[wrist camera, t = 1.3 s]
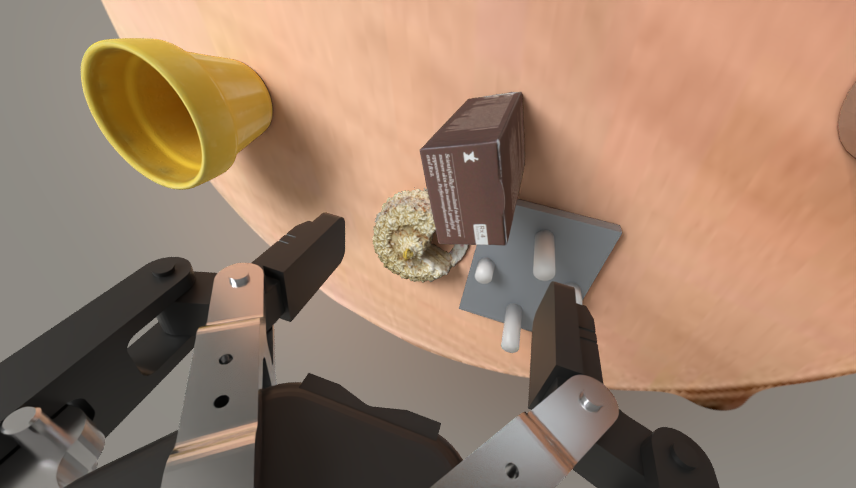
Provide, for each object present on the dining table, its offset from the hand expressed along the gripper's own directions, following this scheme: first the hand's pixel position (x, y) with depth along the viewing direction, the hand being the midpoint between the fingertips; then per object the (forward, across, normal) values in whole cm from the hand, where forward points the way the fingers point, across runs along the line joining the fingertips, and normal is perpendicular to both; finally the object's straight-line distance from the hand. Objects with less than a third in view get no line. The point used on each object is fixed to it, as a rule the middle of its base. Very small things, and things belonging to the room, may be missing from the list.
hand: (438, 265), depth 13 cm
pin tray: (+18, -6, +12) cm, 23 cm away
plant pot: (+18, +24, +2) cm, 30 cm away
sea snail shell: (+18, +5, +11) cm, 22 cm away
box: (+18, 0, 0) cm, 18 cm away
